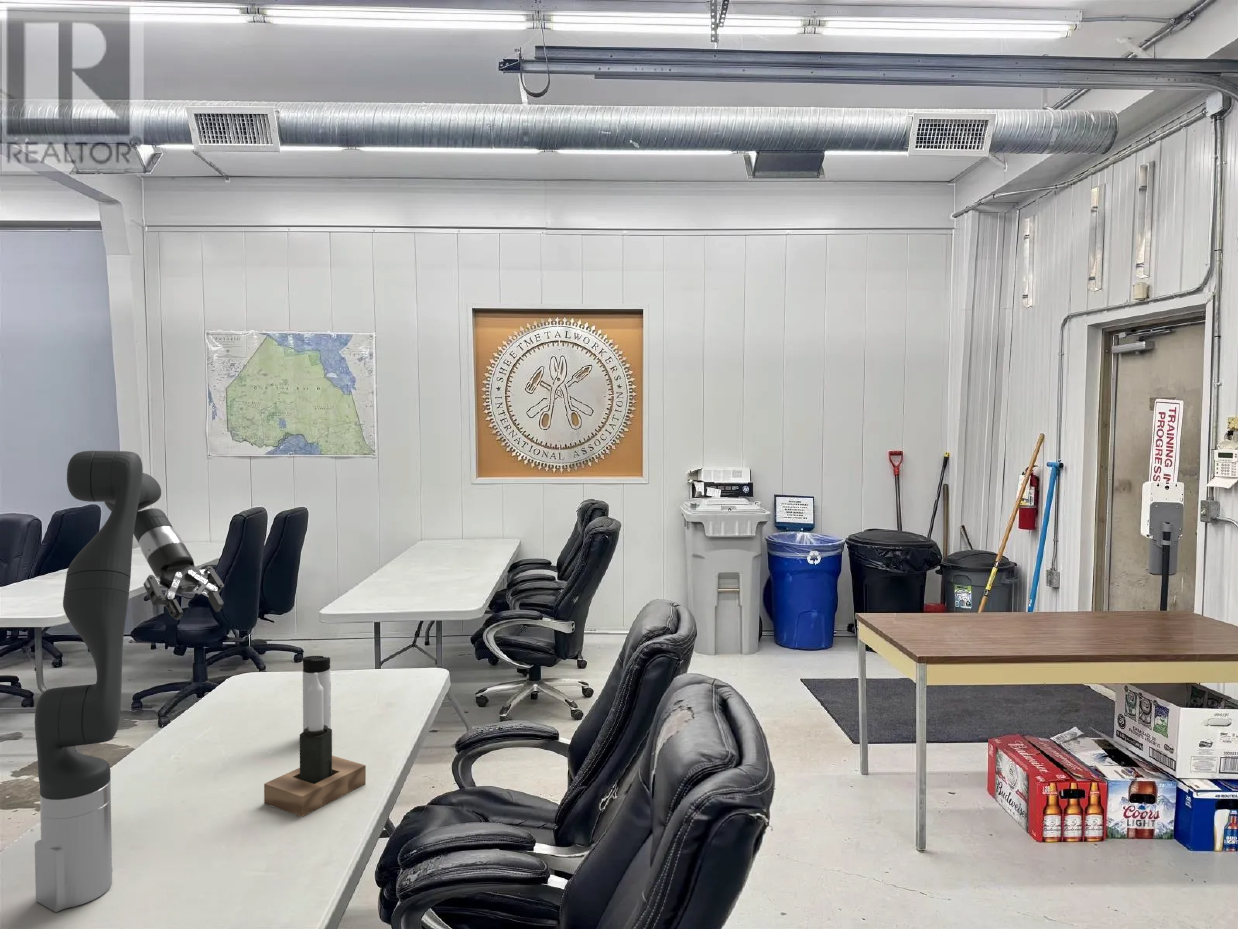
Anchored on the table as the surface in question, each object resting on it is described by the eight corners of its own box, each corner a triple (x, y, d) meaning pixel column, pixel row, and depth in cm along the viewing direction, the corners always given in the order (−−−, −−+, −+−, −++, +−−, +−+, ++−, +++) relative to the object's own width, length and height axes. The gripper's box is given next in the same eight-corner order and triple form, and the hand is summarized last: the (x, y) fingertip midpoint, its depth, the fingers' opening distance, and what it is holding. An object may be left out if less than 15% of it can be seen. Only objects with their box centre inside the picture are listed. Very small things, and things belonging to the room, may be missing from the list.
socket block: (302, 817, 148) (302, 796, 148) (264, 803, 153) (264, 783, 153) (365, 784, 162) (365, 765, 162) (328, 772, 167) (328, 754, 167)
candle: (319, 800, 155) (319, 677, 154) (297, 797, 156) (296, 675, 155) (334, 789, 160) (334, 670, 159) (312, 786, 161) (312, 668, 160)
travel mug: (296, 739, 185) (295, 657, 184) (318, 730, 191) (318, 650, 190) (314, 745, 182) (313, 661, 181) (336, 735, 188) (336, 654, 187)
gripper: (138, 545, 155) (174, 608, 150) (205, 537, 168) (240, 595, 163) (123, 569, 158) (158, 631, 153) (190, 559, 171) (224, 617, 166)
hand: (200, 613), depth 158 cm, fingers open, 8 cm apart
